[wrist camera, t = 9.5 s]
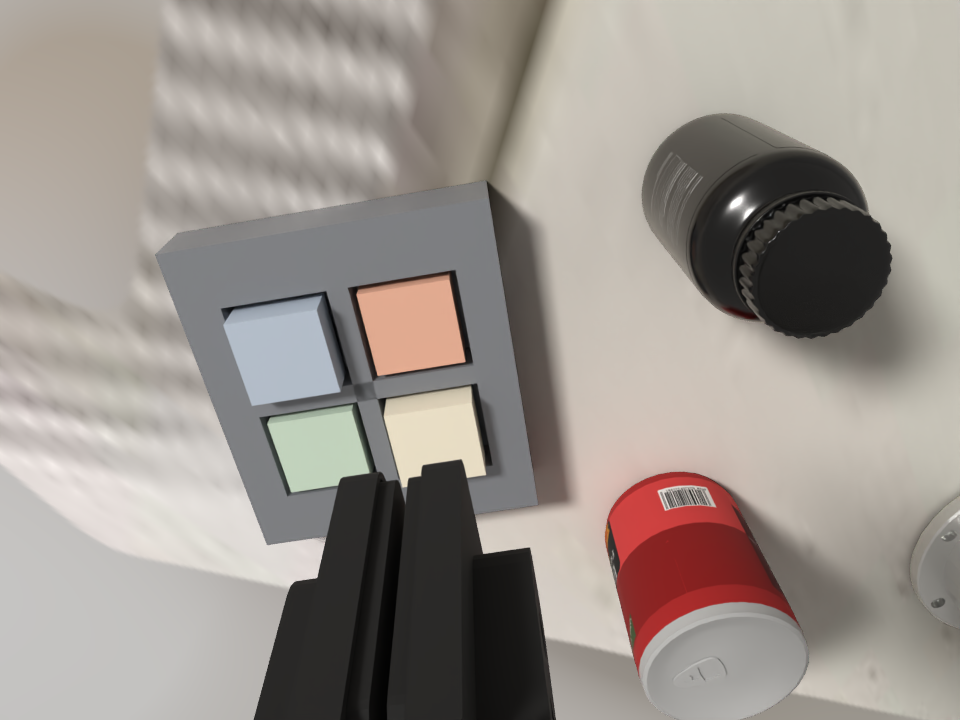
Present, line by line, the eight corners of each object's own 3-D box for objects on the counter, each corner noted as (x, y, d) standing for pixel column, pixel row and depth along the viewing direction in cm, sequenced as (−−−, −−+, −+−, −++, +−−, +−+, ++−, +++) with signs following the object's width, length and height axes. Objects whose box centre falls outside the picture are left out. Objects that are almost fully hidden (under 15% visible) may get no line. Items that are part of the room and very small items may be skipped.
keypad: (533, 471, 43) (538, 505, 41) (278, 510, 44) (267, 545, 41) (486, 180, 35) (488, 198, 33) (177, 233, 36) (155, 254, 34)
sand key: (484, 452, 40) (486, 475, 38) (404, 464, 40) (402, 487, 38) (471, 382, 38) (471, 403, 36) (387, 395, 38) (383, 416, 36)
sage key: (375, 458, 41) (371, 480, 39) (298, 469, 41) (291, 492, 40) (356, 390, 39) (351, 410, 37) (275, 403, 39) (267, 424, 38)
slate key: (345, 371, 37) (340, 392, 36) (261, 385, 38) (252, 406, 36) (323, 292, 35) (316, 309, 34) (234, 307, 36) (223, 325, 34)
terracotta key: (464, 343, 38) (465, 362, 36) (381, 356, 38) (377, 375, 36) (449, 264, 36) (449, 279, 34) (361, 278, 36) (356, 294, 34)
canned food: (575, 521, 45) (608, 674, 35) (683, 442, 43) (751, 584, 33) (653, 588, 48) (704, 748, 38) (759, 518, 45) (842, 670, 36)
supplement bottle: (698, 279, 38) (791, 402, 27) (609, 186, 36) (674, 280, 25) (812, 182, 36) (962, 274, 25) (726, 76, 34) (850, 128, 23)
